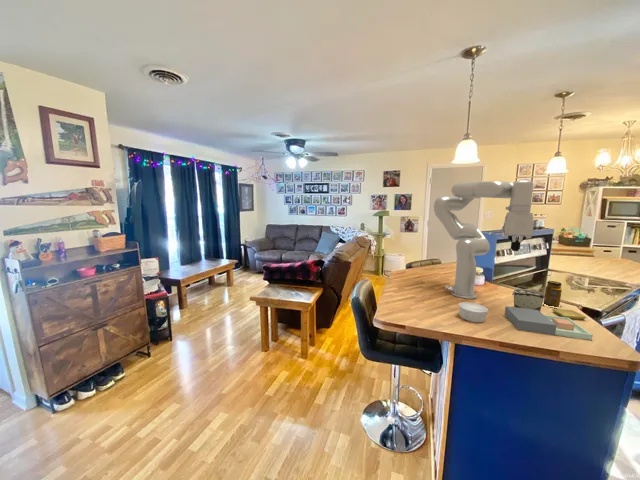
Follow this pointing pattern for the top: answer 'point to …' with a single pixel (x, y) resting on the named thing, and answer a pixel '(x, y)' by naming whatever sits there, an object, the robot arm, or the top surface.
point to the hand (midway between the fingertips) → (514, 250)
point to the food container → (528, 299)
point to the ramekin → (472, 311)
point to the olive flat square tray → (568, 314)
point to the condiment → (553, 293)
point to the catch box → (577, 332)
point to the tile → (563, 324)
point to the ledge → (530, 320)
